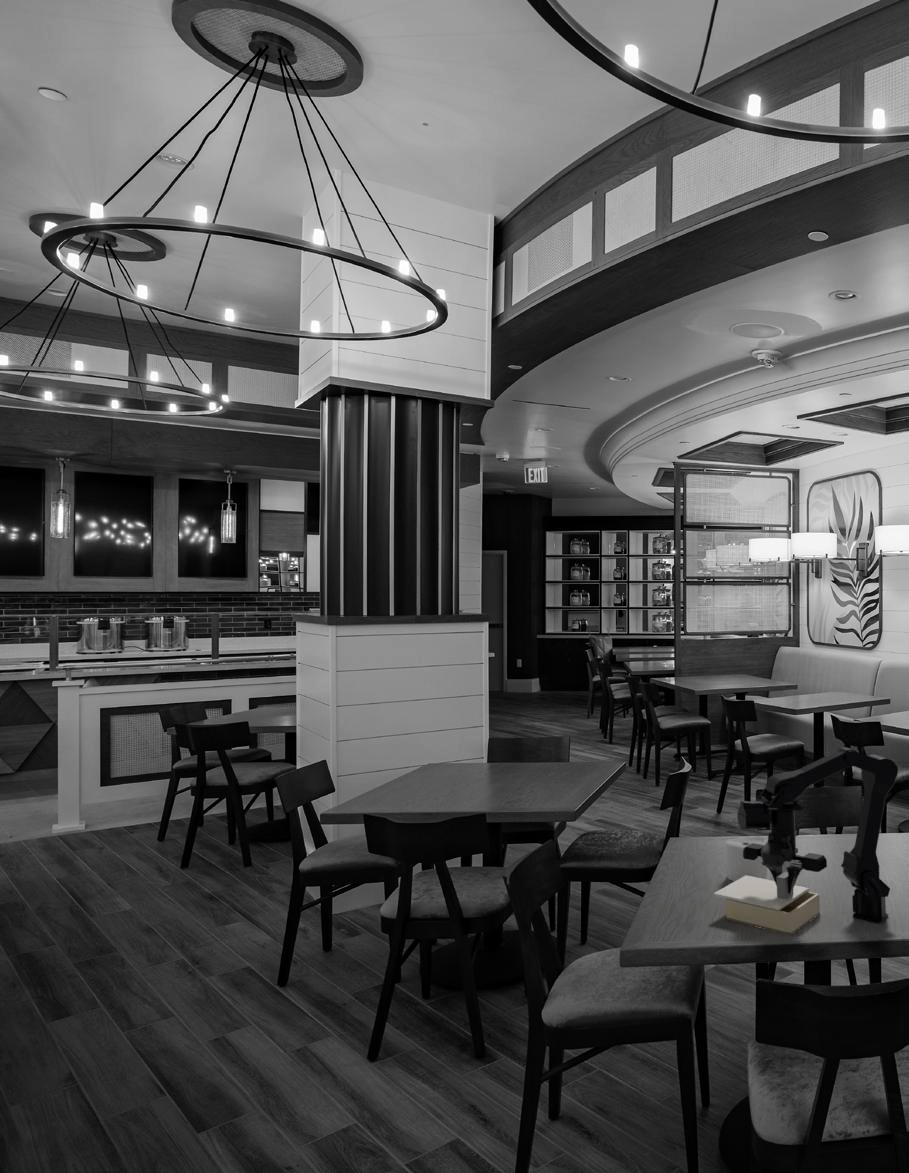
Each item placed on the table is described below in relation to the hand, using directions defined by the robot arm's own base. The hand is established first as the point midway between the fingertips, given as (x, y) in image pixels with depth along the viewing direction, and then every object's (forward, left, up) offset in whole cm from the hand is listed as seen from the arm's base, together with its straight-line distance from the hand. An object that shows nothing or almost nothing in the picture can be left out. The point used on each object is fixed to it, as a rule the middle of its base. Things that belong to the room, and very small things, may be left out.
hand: (785, 892), depth 207 cm
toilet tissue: (+21, -25, -7) cm, 34 cm away
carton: (+3, 0, -7) cm, 7 cm away
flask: (+15, -37, -7) cm, 41 cm away
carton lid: (+6, 0, -1) cm, 6 cm away
